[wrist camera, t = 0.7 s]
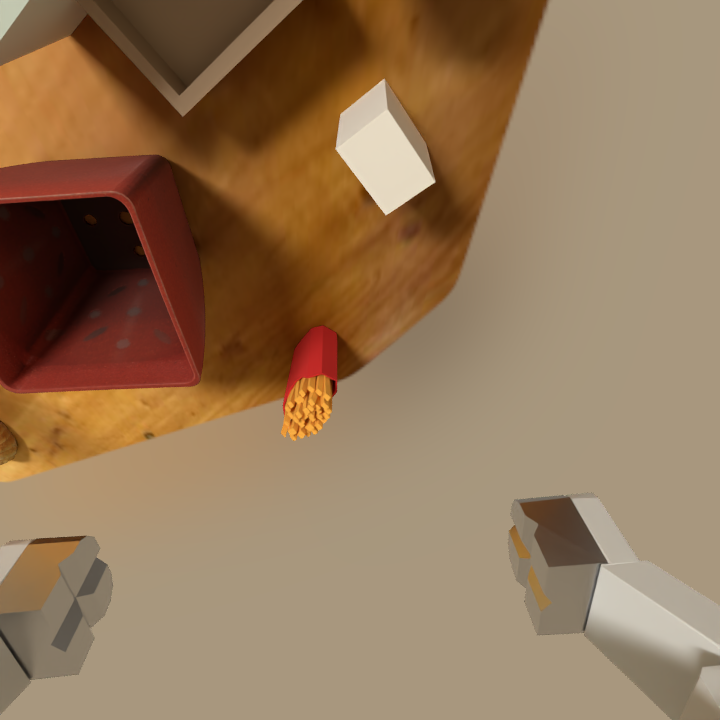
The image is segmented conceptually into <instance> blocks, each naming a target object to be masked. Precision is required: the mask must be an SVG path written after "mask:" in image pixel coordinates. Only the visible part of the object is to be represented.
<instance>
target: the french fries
mask: <svg viewBox="0 0 720 720" xmlns="http://www.w3.org/2000/svg"><path fill="white" fill-rule="evenodd" d="M337 347H338V341H337V334H336V332H334V331H332V330H331V329H329V328H327V327H325V326H318V327H314V328H311V329H310V330H309V331H308V333H307V334H306V335H305V336H304V337H303V338H302V340H301V341H300V342H299V343H298V345H297V346H296V348H295V349H294V354H293V359H292V363H291V368H290V373H289V378H288V383H287V387H286V392H285V397H284V402H283V411H284V415H285V416H284V424H283V428H282V431H281V434H282V435H283V436H284V437H286V433H287V430H288V433H289V434H290V437H291V438H292V440H293V441H295V440H296V439H297V435H298V436H299V437H300V438H301V439H302V438H303V437H304V436H305V434H306V435H307V436H308V437H309V436H310V435H311V432H312V433H313V434H314V435H315V434H317V433H318V430H321V429H322V428H323V423H325V422H326V421H327V419H328V418H330V413H331V412H332V397H333V396H334V395H335V394H336V392H337ZM290 419H291V421H290ZM288 427H289V428H288Z"/></svg>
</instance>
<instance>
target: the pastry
mask: <svg viewBox="0 0 720 720" xmlns="http://www.w3.org/2000/svg"><path fill="white" fill-rule="evenodd" d="M16 451H17V444H16V440H15V438H14V436H12V434H11V432H10V431H9V430H8V429H7V427H6V426H5V425H4V424H3V423H2V422H0V465H2V464H4V463H7V462H8V461H10V460H12V459H13V458H14V457H15V455H16Z"/></svg>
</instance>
